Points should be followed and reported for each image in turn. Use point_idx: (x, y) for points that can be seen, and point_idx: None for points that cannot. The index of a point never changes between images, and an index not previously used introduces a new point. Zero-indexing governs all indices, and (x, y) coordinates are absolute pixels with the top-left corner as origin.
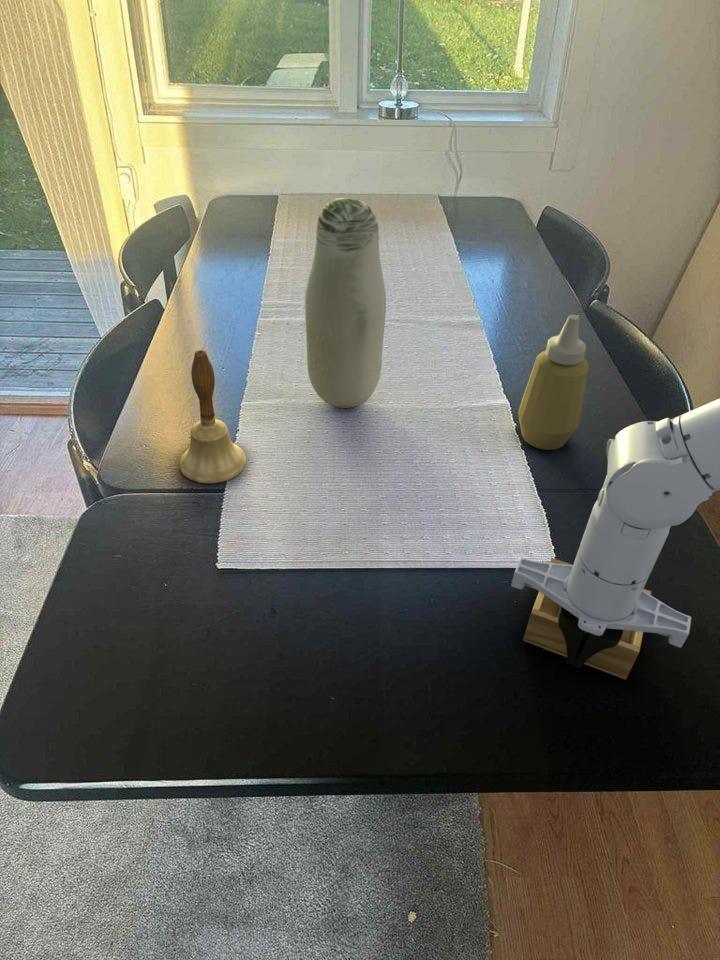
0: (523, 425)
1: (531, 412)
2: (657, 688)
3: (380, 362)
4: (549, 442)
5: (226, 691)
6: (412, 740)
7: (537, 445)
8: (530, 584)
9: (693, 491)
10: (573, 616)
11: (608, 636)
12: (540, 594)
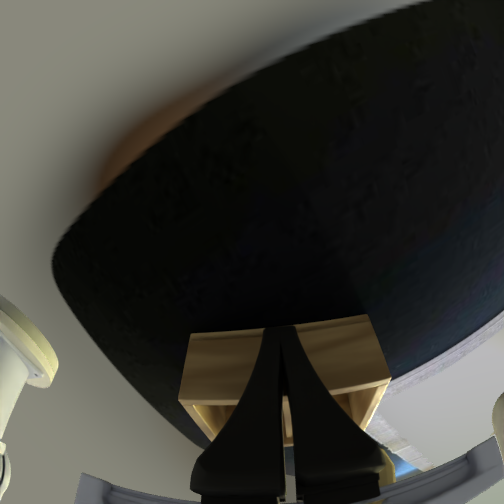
0: (388, 461)
1: (388, 477)
2: (149, 338)
3: (499, 434)
4: None
5: None
6: (475, 43)
7: None
8: (474, 482)
9: None
10: (341, 479)
11: (223, 491)
12: (376, 403)
